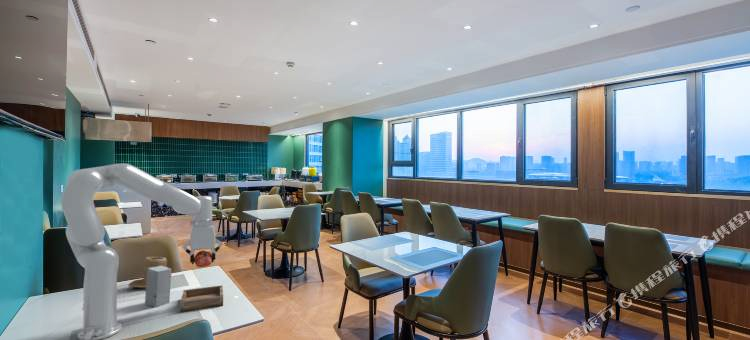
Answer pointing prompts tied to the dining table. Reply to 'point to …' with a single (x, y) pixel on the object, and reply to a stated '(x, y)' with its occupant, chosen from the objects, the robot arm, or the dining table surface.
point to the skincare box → (158, 286)
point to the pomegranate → (203, 259)
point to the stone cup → (147, 263)
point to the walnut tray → (201, 298)
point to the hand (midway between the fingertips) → (203, 262)
